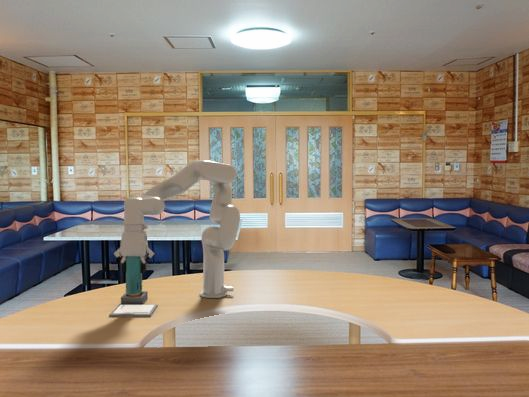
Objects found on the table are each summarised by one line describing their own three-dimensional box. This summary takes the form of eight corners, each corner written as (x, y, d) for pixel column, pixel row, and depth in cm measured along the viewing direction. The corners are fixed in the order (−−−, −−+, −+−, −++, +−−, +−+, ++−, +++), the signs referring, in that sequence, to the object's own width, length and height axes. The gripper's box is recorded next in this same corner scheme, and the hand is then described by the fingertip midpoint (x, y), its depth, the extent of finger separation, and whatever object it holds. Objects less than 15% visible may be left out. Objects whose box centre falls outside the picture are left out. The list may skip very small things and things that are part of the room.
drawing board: (157, 306, 182) (157, 303, 182) (150, 316, 169) (150, 314, 169) (119, 306, 181) (119, 303, 181) (109, 316, 168) (109, 314, 168)
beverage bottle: (137, 298, 171) (137, 248, 169) (122, 297, 172) (122, 247, 171) (145, 294, 177) (145, 245, 176) (130, 292, 178) (130, 244, 177)
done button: (141, 293, 189) (141, 288, 189) (139, 297, 184) (138, 291, 184) (130, 293, 189) (130, 288, 189) (127, 297, 184) (127, 291, 184)
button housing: (147, 299, 192) (147, 291, 191) (142, 305, 183) (142, 297, 182) (126, 299, 191) (126, 291, 191) (121, 305, 182) (120, 297, 182)
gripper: (157, 227, 177) (157, 270, 178) (115, 226, 176) (115, 270, 177) (153, 229, 169) (153, 275, 171) (109, 229, 169) (109, 274, 170)
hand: (134, 272), depth 174 cm, fingers closed on beverage bottle, 6 cm apart
